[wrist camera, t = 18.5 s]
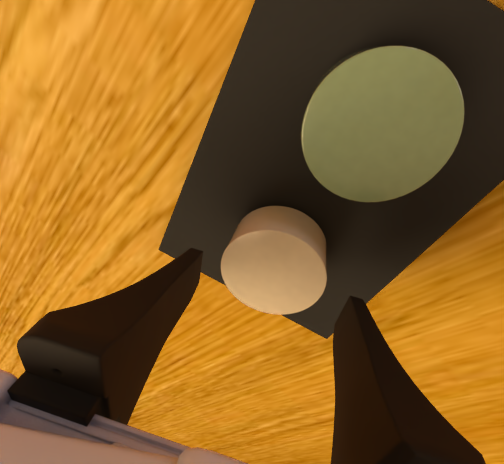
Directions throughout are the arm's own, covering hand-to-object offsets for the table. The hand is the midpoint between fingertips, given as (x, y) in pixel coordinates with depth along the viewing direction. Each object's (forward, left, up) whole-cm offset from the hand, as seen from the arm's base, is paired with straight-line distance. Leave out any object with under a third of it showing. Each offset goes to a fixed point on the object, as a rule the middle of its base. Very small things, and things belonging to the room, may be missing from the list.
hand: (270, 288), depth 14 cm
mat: (0, -4, -4) cm, 6 cm away
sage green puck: (0, -8, -4) cm, 9 cm away
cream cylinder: (0, 0, -4) cm, 4 cm away
